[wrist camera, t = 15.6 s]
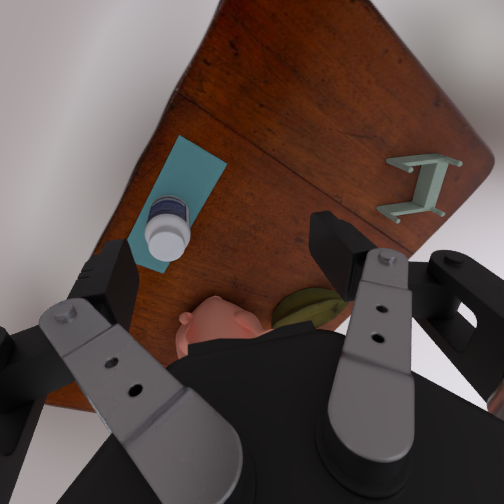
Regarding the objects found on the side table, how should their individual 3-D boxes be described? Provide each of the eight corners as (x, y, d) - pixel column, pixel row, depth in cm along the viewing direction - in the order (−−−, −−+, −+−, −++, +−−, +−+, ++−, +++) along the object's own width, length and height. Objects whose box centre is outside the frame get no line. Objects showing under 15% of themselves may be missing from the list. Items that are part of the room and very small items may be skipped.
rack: (375, 209, 48) (395, 223, 43) (385, 158, 43) (409, 167, 39) (421, 203, 49) (445, 216, 44) (435, 152, 44) (464, 161, 40)
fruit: (287, 273, 51) (299, 297, 45) (340, 284, 55) (357, 308, 50) (262, 319, 56) (271, 346, 50) (313, 326, 60) (326, 352, 55)
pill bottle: (142, 203, 39) (131, 237, 31) (178, 188, 39) (177, 218, 31) (161, 234, 42) (156, 273, 34) (195, 221, 42) (198, 256, 34)
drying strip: (179, 134, 36) (179, 135, 35) (226, 163, 39) (227, 164, 38) (118, 256, 42) (118, 257, 42) (163, 272, 46) (163, 273, 45)
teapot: (257, 279, 50) (277, 333, 40) (255, 343, 59) (271, 401, 48) (170, 289, 48) (167, 350, 37) (182, 354, 56) (182, 419, 46)
